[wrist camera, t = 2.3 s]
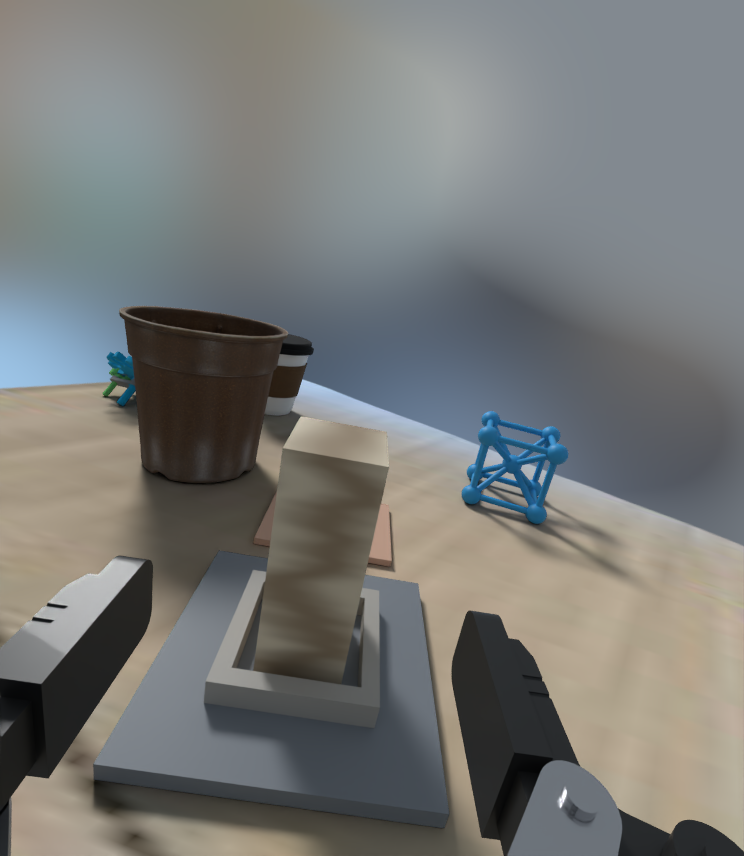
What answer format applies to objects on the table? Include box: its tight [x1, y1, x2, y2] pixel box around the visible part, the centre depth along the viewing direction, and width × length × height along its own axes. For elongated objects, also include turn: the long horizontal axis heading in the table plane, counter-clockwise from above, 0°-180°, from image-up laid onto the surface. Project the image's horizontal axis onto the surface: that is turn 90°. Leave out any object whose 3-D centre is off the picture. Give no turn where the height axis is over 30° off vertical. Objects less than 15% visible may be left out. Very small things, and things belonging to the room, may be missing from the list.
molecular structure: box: [462, 411, 568, 524], centre depth 54 cm, size 10×10×10 cm
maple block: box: [253, 416, 389, 684], centre depth 25 cm, size 5×5×14 cm
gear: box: [103, 352, 136, 406], centre depth 63 cm, size 11×6×10 cm
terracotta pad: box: [253, 491, 392, 567], centre depth 42 cm, size 12×10×1 cm
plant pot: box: [119, 306, 288, 483], centre depth 48 cm, size 16×16×16 cm
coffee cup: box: [265, 334, 314, 416], centre depth 70 cm, size 11×11×12 cm
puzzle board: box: [93, 550, 449, 828], centre depth 27 cm, size 16×16×2 cm
